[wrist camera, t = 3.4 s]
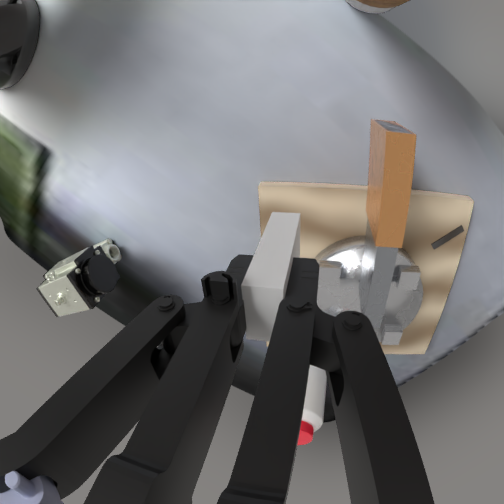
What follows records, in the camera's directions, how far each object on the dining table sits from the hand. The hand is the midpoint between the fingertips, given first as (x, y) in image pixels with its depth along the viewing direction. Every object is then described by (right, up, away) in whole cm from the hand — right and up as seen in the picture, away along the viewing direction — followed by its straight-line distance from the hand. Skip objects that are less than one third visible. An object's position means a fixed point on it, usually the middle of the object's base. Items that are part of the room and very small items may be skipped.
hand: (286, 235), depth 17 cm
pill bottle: (+6, -20, +28) cm, 35 cm away
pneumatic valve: (-22, 0, +23) cm, 32 cm away
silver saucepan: (+10, 0, +13) cm, 16 cm away
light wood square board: (+10, -4, +17) cm, 20 cm away
